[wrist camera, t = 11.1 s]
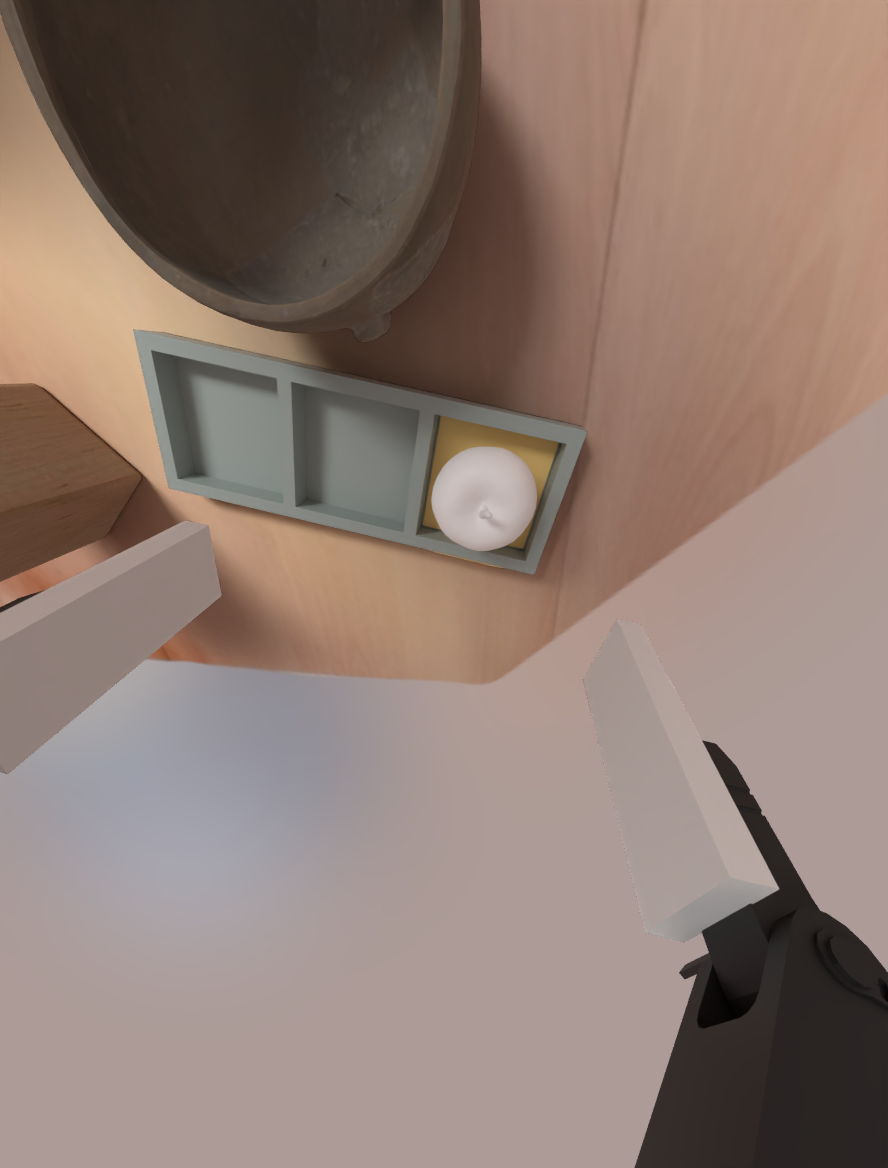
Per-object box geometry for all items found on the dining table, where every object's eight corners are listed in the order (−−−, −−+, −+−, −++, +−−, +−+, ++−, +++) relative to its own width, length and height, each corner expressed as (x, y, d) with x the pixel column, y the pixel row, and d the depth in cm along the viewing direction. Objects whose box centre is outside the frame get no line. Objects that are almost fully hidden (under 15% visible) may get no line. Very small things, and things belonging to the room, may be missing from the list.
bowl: (455, 365, 25) (428, 363, 16) (209, 313, 26) (61, 287, 17) (530, -90, 16) (556, -616, 7) (145, -152, 16) (-240, -704, 8)
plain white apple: (552, 490, 27) (567, 530, 21) (479, 543, 31) (471, 594, 24) (494, 413, 25) (490, 431, 19) (422, 479, 28) (396, 515, 22)
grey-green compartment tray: (164, 332, 27) (133, 329, 24) (580, 425, 26) (587, 431, 23) (192, 482, 32) (169, 490, 30) (531, 562, 32) (533, 577, 29)
